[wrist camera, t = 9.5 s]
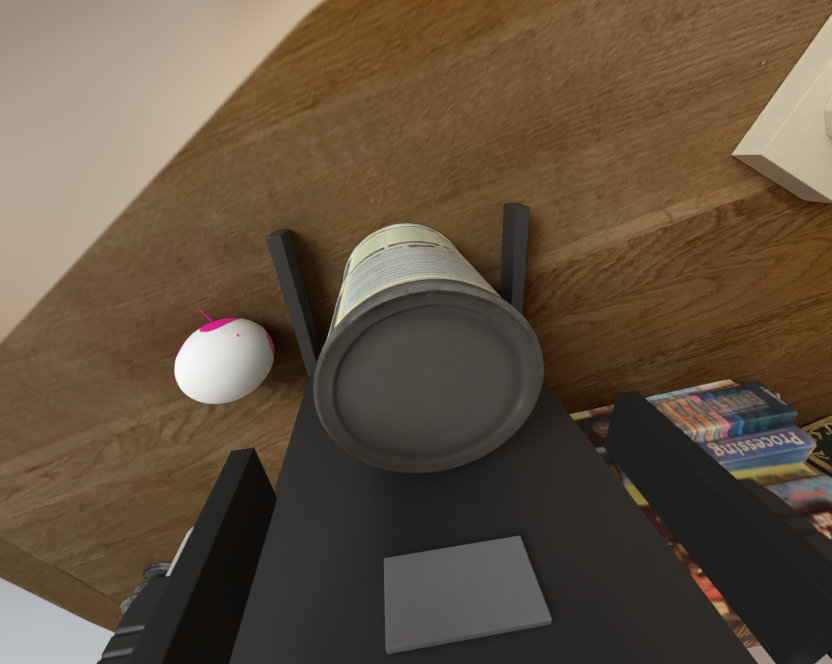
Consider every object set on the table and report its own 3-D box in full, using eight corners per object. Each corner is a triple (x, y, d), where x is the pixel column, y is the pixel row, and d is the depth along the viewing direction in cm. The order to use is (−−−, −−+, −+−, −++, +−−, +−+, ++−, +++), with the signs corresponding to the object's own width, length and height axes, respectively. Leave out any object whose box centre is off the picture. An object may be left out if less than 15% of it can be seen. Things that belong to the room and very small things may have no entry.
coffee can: (486, 305, 28) (571, 419, 16) (385, 359, 30) (391, 501, 18) (433, 194, 24) (495, 233, 11) (315, 264, 25) (257, 366, 13)
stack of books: (752, 369, 36) (1029, 523, 21) (712, 475, 44) (886, 639, 29) (549, 414, 35) (677, 604, 20) (547, 512, 44) (637, 696, 29)
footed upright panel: (272, 230, 24) (-1559, 1499, 1) (519, 202, 25) (1980, 645, 2) (325, 408, 32) (202, 1010, 9) (509, 382, 33) (800, 871, 10)
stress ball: (266, 288, 29) (205, 271, 22) (309, 365, 28) (258, 371, 21) (203, 334, 30) (126, 331, 23) (242, 410, 29) (173, 429, 22)
